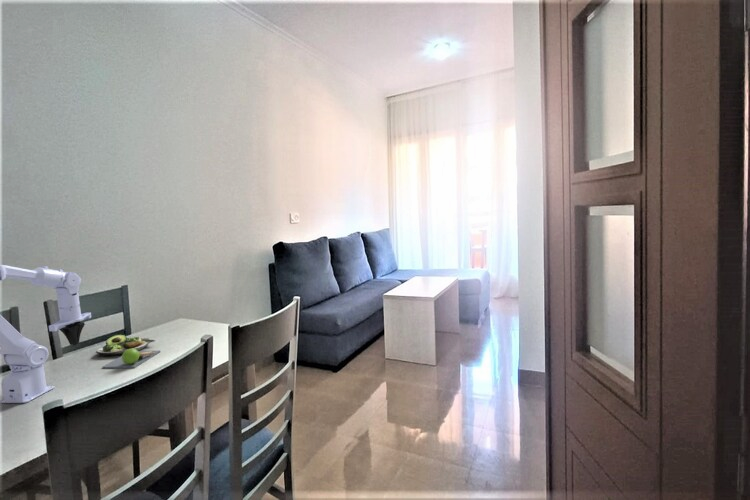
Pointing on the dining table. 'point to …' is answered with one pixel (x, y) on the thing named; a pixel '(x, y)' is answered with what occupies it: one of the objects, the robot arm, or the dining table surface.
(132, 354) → the snail figurine
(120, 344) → the salad plate
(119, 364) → the slate mat
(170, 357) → the dining table surface
